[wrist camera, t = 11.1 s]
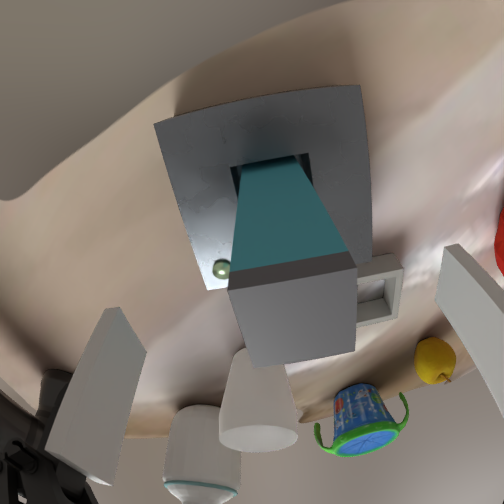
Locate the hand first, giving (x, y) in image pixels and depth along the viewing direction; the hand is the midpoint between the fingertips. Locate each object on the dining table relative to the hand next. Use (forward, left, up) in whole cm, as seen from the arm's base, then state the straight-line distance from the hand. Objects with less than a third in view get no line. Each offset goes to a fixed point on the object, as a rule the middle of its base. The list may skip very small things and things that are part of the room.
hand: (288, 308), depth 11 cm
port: (0, 0, -17) cm, 17 cm away
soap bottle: (-18, -39, -17) cm, 46 cm away
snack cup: (+8, -38, -17) cm, 42 cm away
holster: (+8, -14, -17) cm, 23 cm away
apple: (+19, -28, -17) cm, 38 cm away
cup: (-6, -24, -17) cm, 30 cm away
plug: (0, 0, -16) cm, 16 cm away
